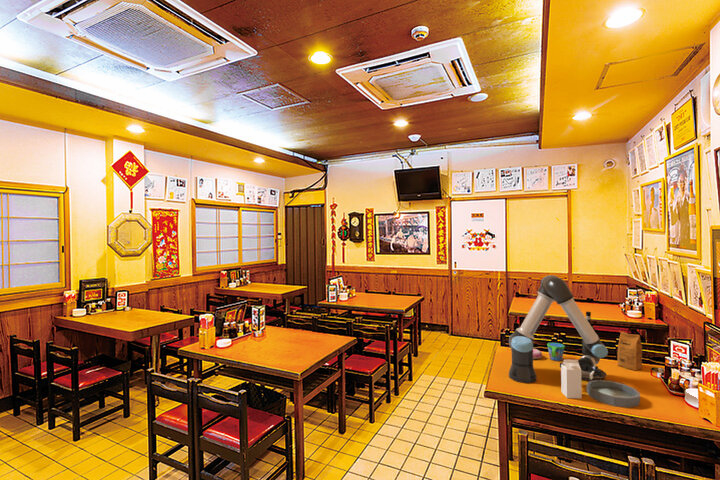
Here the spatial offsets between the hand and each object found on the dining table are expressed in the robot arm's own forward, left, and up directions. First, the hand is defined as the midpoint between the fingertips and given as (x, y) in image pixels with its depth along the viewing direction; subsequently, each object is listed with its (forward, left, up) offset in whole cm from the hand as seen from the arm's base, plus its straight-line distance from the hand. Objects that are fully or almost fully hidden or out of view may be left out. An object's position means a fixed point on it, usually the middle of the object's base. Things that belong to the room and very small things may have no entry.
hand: (575, 373), depth 192 cm
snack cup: (+3, +55, -11) cm, 56 cm away
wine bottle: (+28, +73, -11) cm, 78 cm away
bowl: (+17, -1, -10) cm, 20 cm away
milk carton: (-3, -4, -11) cm, 12 cm away
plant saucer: (+13, +28, -11) cm, 32 cm away
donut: (-12, +56, -11) cm, 59 cm away
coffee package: (+44, +50, -11) cm, 67 cm away
